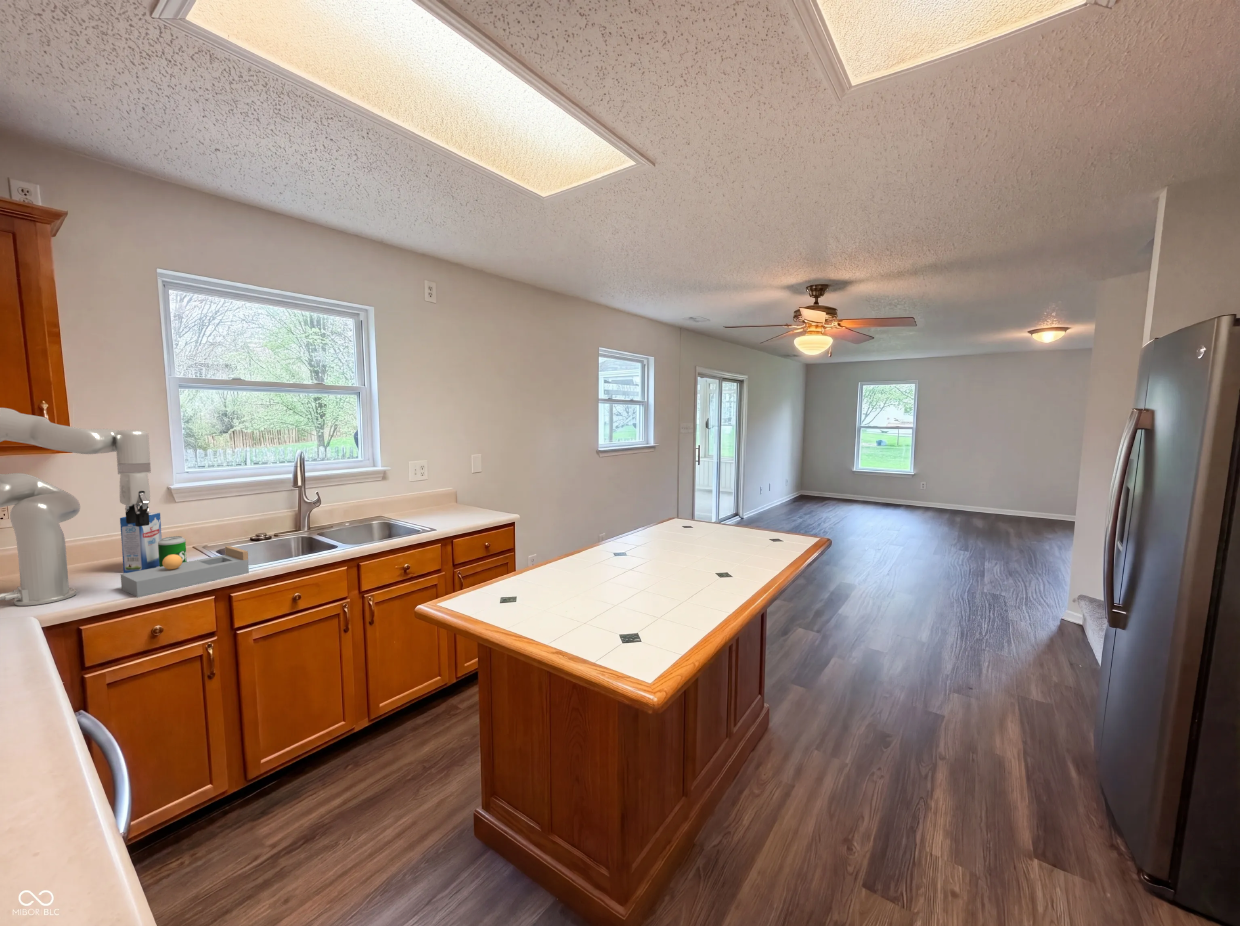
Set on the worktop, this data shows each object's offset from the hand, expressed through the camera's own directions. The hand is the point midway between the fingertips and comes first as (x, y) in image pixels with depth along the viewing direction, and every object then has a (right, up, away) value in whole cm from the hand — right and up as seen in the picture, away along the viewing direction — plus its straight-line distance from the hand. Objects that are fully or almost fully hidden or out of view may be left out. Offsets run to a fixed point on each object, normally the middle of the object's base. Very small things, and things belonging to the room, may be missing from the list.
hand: (137, 523), depth 159 cm
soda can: (-10, -20, +23) cm, 32 cm away
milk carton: (-22, -20, +25) cm, 38 cm away
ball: (+4, -14, +8) cm, 16 cm away
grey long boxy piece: (+6, -21, +12) cm, 25 cm away
